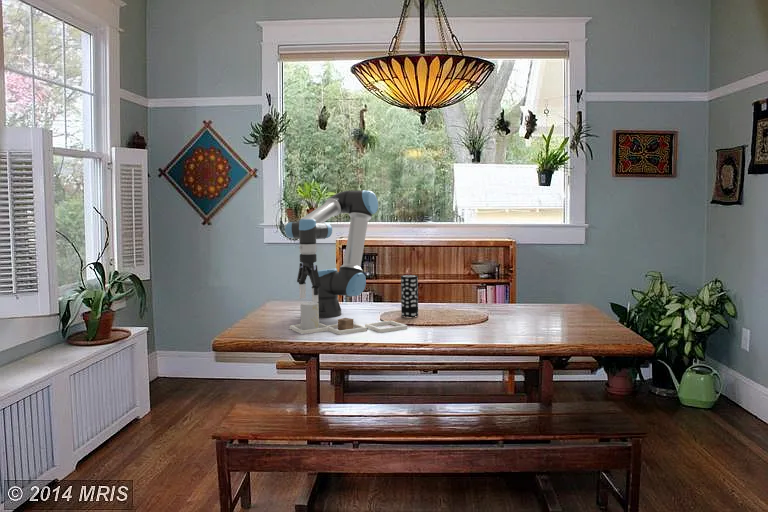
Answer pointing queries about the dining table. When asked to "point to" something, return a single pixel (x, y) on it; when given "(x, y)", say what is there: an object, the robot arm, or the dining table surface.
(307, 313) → the cup
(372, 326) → the frame
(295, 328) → the frame
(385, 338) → the dining table surface
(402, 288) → the white-spotted black cylinder
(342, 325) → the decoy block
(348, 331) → the frame
